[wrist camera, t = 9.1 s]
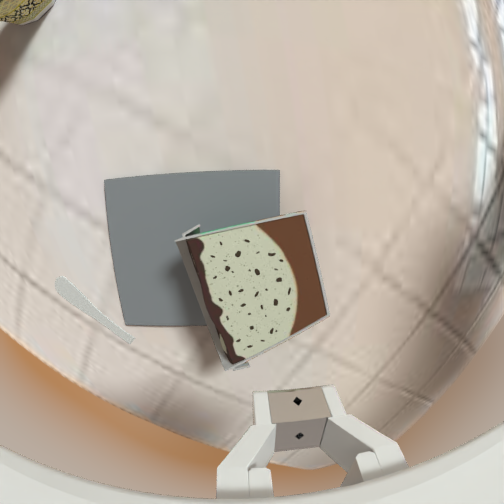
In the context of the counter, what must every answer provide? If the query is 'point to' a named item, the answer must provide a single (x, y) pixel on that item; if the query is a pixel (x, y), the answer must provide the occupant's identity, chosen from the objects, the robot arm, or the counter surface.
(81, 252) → the counter surface
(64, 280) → the butter knife
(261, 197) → the mat
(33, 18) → the ceramic cup
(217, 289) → the food container
